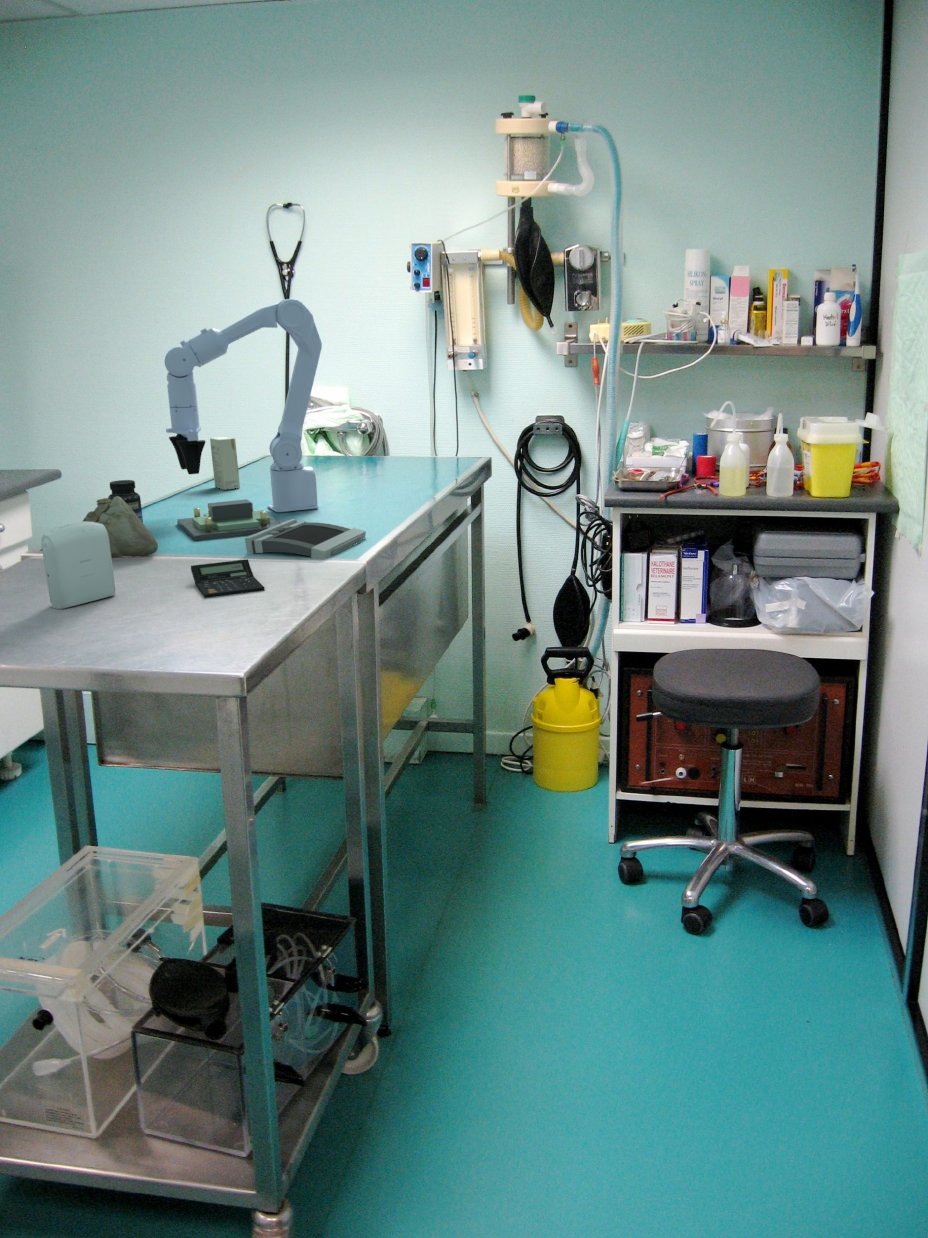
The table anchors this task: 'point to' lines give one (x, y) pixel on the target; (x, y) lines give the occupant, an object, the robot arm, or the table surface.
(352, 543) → the grey curved panel device
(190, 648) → the table surface
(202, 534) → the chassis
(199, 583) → the calculator
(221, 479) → the skincare box
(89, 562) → the photo printer
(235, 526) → the circuit board
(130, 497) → the pill bottle
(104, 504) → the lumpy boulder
